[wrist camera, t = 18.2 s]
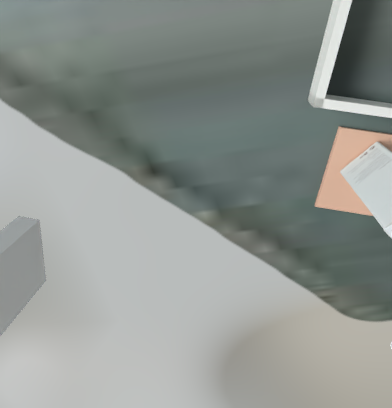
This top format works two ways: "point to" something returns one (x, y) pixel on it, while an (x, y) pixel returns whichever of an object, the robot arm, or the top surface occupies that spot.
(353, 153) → the tile
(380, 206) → the skincare box
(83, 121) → the top surface
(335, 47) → the bin
